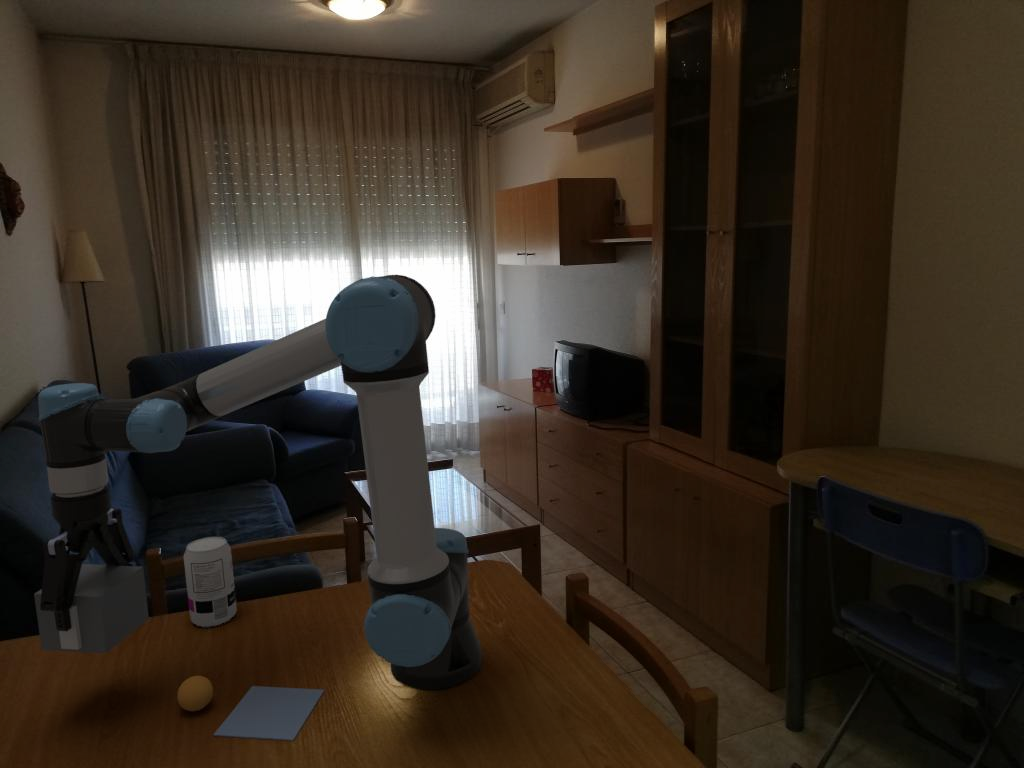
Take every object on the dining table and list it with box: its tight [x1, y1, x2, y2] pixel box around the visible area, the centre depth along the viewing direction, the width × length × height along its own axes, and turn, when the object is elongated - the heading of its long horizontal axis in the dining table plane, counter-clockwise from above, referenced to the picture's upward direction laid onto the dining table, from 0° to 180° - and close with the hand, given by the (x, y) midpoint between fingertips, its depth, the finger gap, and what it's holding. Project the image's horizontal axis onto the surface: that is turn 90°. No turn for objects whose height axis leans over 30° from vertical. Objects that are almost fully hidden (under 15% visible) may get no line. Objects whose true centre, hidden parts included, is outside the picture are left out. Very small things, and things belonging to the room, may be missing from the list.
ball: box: [176, 675, 214, 712], centre depth 112 cm, size 5×5×5 cm
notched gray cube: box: [33, 563, 150, 654], centre depth 111 cm, size 10×10×9 cm
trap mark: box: [213, 685, 326, 742], centre depth 110 cm, size 12×12×1 cm
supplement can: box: [183, 536, 238, 628], centre depth 138 cm, size 8×8×15 cm
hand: (97, 628), depth 112 cm, fingers closed on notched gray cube, 10 cm apart
